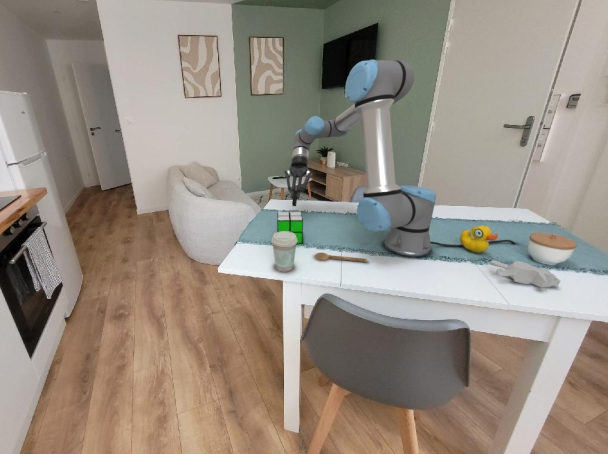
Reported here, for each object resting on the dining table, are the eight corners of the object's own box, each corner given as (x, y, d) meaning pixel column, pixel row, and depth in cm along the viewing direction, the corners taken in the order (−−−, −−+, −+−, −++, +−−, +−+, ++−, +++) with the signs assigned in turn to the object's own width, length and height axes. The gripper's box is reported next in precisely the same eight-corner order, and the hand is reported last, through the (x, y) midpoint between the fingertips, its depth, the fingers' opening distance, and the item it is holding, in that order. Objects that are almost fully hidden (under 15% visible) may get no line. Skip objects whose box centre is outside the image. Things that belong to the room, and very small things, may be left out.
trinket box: (558, 255, 98) (569, 230, 95) (574, 271, 89) (587, 244, 86) (517, 250, 103) (526, 226, 99) (529, 265, 94) (539, 239, 90)
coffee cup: (266, 268, 99) (266, 236, 95) (281, 258, 105) (281, 228, 100) (287, 276, 94) (287, 243, 89) (301, 266, 100) (302, 234, 95)
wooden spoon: (366, 259, 102) (366, 256, 102) (367, 265, 98) (367, 262, 98) (316, 254, 107) (316, 251, 107) (315, 260, 103) (315, 257, 103)
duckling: (496, 257, 99) (505, 230, 95) (484, 259, 98) (493, 232, 94) (464, 243, 109) (471, 218, 106) (453, 245, 108) (460, 221, 104)
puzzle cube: (300, 233, 125) (301, 211, 121) (302, 243, 116) (303, 220, 112) (277, 233, 126) (277, 211, 122) (277, 243, 117) (277, 220, 113)
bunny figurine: (569, 281, 78) (503, 267, 83) (559, 296, 80) (495, 282, 85) (551, 264, 86) (491, 252, 91) (542, 278, 88) (484, 266, 93)
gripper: (314, 164, 137) (309, 209, 129) (287, 164, 141) (280, 207, 133) (313, 155, 131) (308, 201, 123) (285, 154, 134) (278, 200, 126)
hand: (294, 204), depth 128 cm, fingers closed
